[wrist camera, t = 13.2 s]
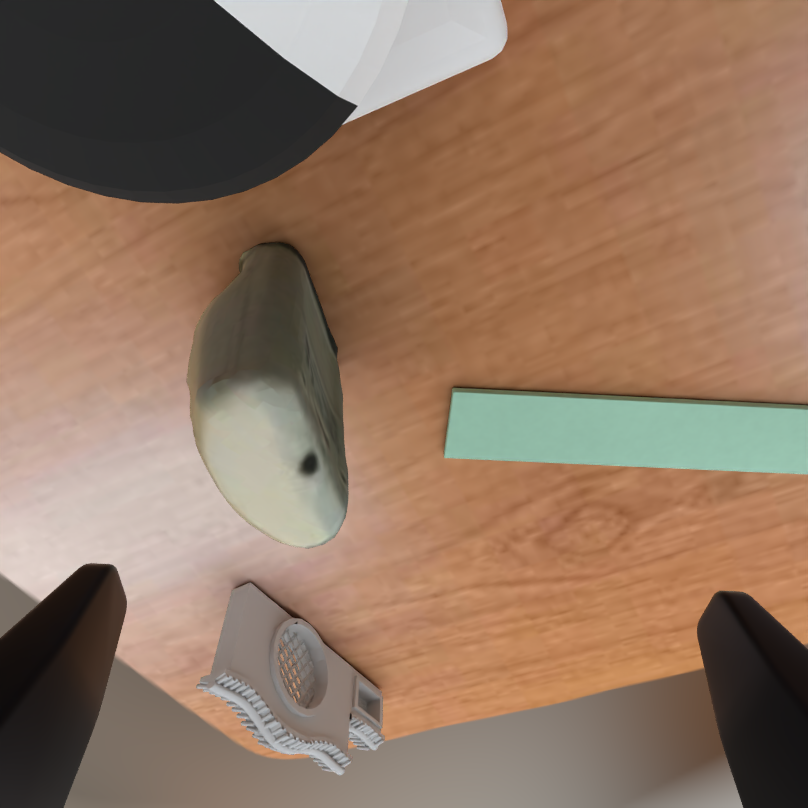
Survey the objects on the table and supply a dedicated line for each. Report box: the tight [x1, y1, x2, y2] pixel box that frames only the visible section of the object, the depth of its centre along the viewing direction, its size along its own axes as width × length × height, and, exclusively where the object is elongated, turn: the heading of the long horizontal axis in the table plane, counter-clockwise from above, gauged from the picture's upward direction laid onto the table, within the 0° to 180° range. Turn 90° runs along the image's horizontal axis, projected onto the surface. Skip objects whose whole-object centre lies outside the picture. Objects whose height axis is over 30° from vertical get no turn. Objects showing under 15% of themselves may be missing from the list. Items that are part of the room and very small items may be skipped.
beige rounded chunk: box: [187, 242, 348, 548], centre depth 18 cm, size 6×5×8 cm
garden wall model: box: [196, 583, 385, 775], centre depth 30 cm, size 12×2×6 cm, turn 31°
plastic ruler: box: [444, 388, 808, 474], centre depth 24 cm, size 15×3×1 cm, turn 86°
